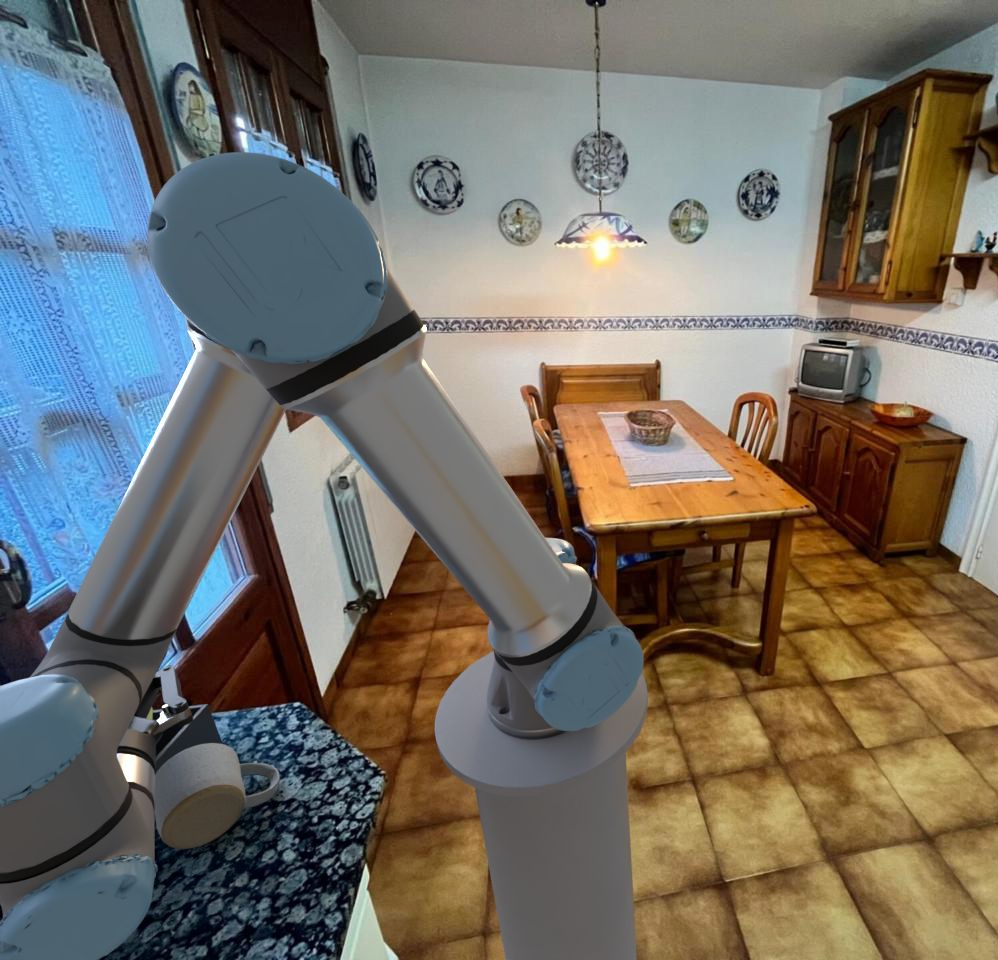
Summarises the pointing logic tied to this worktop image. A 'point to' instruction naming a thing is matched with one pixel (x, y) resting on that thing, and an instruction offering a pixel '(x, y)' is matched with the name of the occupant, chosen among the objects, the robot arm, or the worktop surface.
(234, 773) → the ceramic mug
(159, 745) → the bin
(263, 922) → the worktop surface
